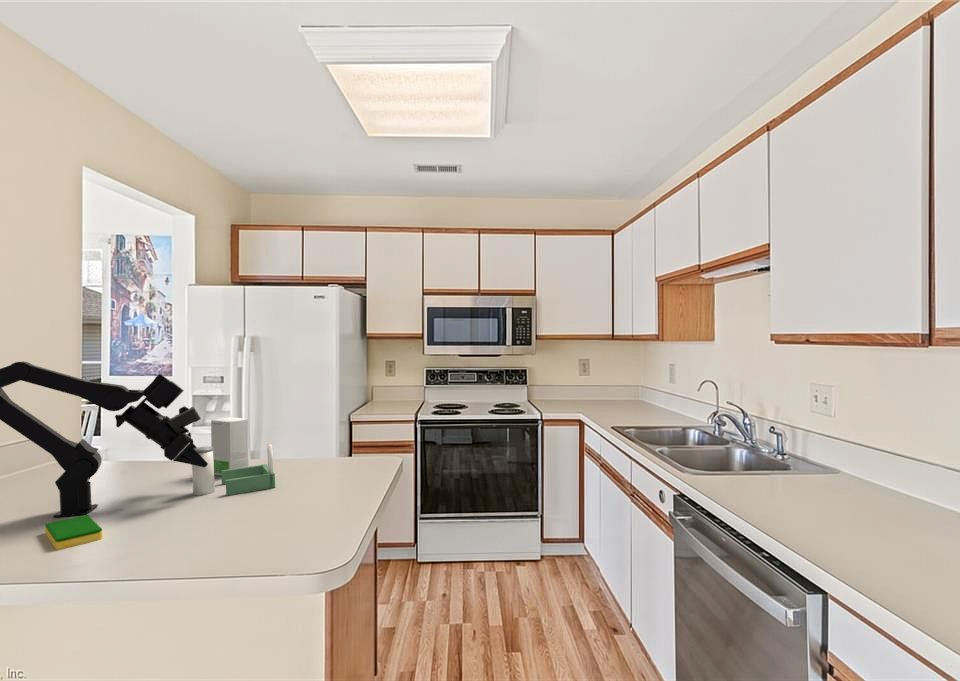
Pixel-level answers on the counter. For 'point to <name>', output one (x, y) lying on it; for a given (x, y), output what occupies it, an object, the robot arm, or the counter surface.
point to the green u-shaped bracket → (250, 477)
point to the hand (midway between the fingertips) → (205, 462)
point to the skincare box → (229, 443)
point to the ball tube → (204, 473)
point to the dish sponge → (73, 531)
